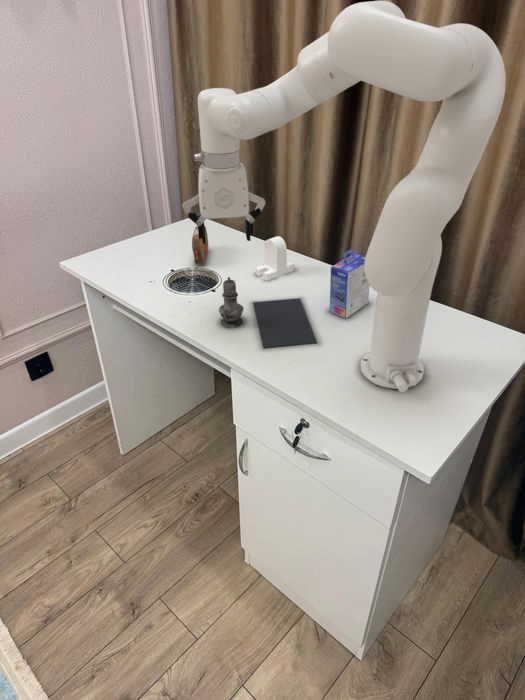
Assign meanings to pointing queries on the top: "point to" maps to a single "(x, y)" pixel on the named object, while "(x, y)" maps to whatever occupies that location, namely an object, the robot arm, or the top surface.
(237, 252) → the top surface
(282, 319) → the mat
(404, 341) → the robot arm
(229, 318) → the salt shaker
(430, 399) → the top surface
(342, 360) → the top surface
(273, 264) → the cable organizer
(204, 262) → the tin
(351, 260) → the ink cartridge box
